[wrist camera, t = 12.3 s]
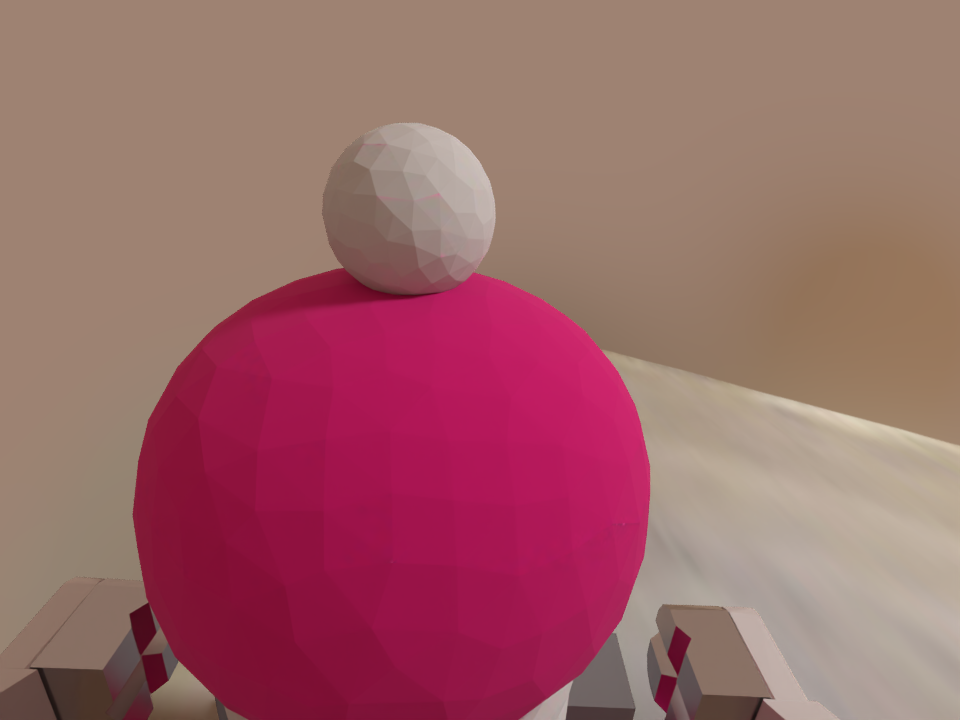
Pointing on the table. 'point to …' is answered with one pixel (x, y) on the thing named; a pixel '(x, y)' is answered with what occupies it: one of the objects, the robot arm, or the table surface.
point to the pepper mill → (394, 472)
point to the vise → (587, 689)
